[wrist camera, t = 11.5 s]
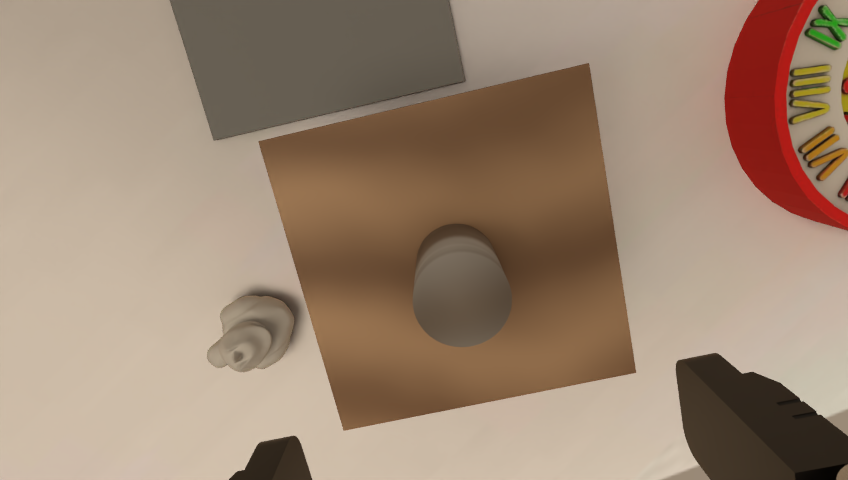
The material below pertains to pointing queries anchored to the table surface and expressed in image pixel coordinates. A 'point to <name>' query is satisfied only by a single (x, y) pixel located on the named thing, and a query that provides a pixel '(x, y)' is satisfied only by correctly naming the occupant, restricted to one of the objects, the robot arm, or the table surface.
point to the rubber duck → (252, 334)
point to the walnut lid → (457, 248)
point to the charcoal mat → (312, 56)
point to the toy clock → (793, 105)
